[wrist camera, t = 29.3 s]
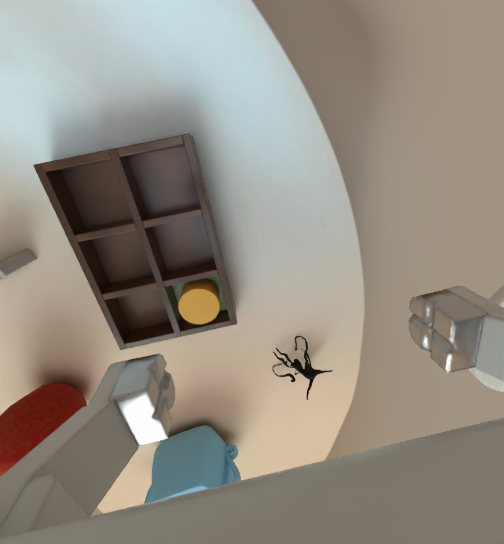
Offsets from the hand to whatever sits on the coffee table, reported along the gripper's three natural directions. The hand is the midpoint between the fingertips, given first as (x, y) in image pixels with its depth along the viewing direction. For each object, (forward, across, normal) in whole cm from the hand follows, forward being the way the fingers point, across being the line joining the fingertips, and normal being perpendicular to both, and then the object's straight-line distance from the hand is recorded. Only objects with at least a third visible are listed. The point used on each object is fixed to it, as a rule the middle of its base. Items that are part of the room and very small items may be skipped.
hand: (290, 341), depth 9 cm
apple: (+27, +31, +22) cm, 47 cm away
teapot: (+27, +17, +40) cm, 51 cm away
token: (+26, +7, +10) cm, 29 cm away
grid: (+27, +11, +3) cm, 29 cm away
